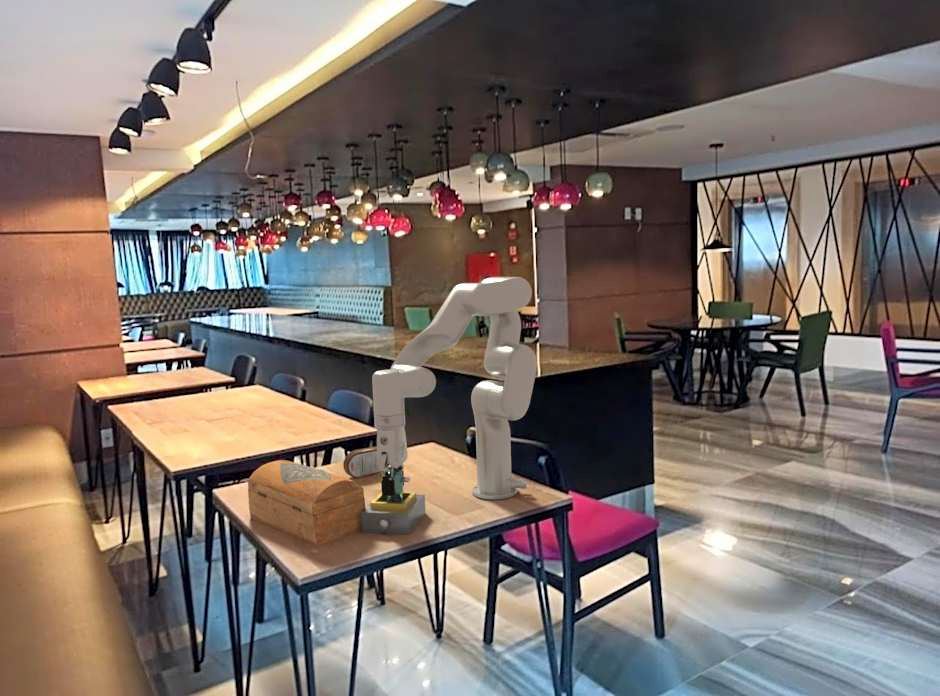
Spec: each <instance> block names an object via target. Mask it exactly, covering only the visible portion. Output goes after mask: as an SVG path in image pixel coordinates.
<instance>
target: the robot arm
mask: <svg viewBox="0 0 940 696" xmlns="http://www.w3.org/2000/svg"><path fill="white" fill-rule="evenodd" d="M532 294H533V293H532V287H531V284H530V283H529V281H527V280H526V279H525V278H523V277H521V276H491V277H487V278H484V279H483V280H481V282H462V283H459V284H457V285H456V286H454V287H453V289H452V290H451V291H450V292H449V294H448V295H447V297H446V298H445V300H444V302H443V303H442V305H441V306H440V308H439V309H438V311H437V313H436V314H435V316H434V317H433V319H432V320H431V322H430V324H429V325H428V327H426V328H425V329H424V330H422V331H421V332H419V333H418V334H417V335H416V336H415V337H414V338H413V339H411V340H410V341H409V342H408V343H407V344H406V345H405V346H404V347H403V349H401V350H400V352H399V353H398V355H397V356H396V358H395V360H394V361H393V363H392V365H391V367H390V369H382V370H377V371H375V372H374V373H373V374H372V376H371V380H372V381H371V382H372V383H371V384H372V385H371V386H372V401H373V402H372V403H373V418H374V420H373V421H374V422H373V423H374V428H375V429H376V434H377V435H376V446H377V461H378V467H379V472H380V473H379V475H380V482H381V484H380V486H381V492H382V495H383V496H394V495H395V483H394V479H393V470H394V469H399V470H402V476H403V477H405V476H404V463H405V462H406V461H407V460H408V457H409V455H408V445H407V434H406V428H405V427H406V414H405V413H406V412H405V398H406V399H407V398H424V397H427V396H428V395H431V394H432V393H433V391H434V390H435V389H436V384H437V379H436V375H435V374H434V373H433V372H432V371H431V370H430V369H428V368H425V367H422V366H423V365H424V364H425V362H427V361H428V360H429V359H430V358H431V357H433V356H434V355H436V354H439V353H441V352H444V351H447V350H449V349H450V348H452V347H454V346H455V345H457V344H458V342H459V341H460V339H461V337H463V335H464V332H466V329H467V328H468V326H469V325H470V322H471V321H472V320H473V318H474V317H476V316H477V317H489V319H490V327H489V333H488V338H487V344H486V348H485V353H484V358H483V359H484V360H483V367H484V369H485V371H486V372H487V373H488V374H490V375H492V376H495V377H500V378H504V382H503V381H498V380H490V379H487V380H481V381H480V382H478V383H477V384H475V386H474V387H473V389H472V392H471V397H470V400H471V408H472V411H473V412H472V413H473V416H474V423H475V444H476V445H475V447H476V449H475V450H476V473H477V474H476V475H477V479H476V480H477V481H476V482H477V484H476V485H474V486H473V487H472V489H471V491H472V495H473V496H475V497H477V498H480V499H483V500H503V499H508V498H512V497H514V496H515V495H517V493H518V489H525V490H526V489H528V481H525V480H524V479H516V478H515V474H513V473H512V456H511V455H512V453H511V451H512V450H511V449H512V447H511V427H510V423H509V421H518V420H520V419H522V418H523V417H524V416H525V415H526V413H527V411H528V409H529V406H530V404H531V399H532V395H533V389H534V384H535V379H536V375H537V368H538V361H537V356H536V354H535V351H534V350H533V349H532V348H531V347H529V346H528V345H525V344H521V343H520V339H521V331H522V321H521V317H520V314H519V312H518V310H521V309H522V308H525V307H526V306H528V304H529V303H530V301H531V300H532V299H531V298H532ZM386 465H389V466H388V467H386ZM386 470H390V474H389V473H388V471H386ZM404 486H405V482H403V487H404Z"/></svg>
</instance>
